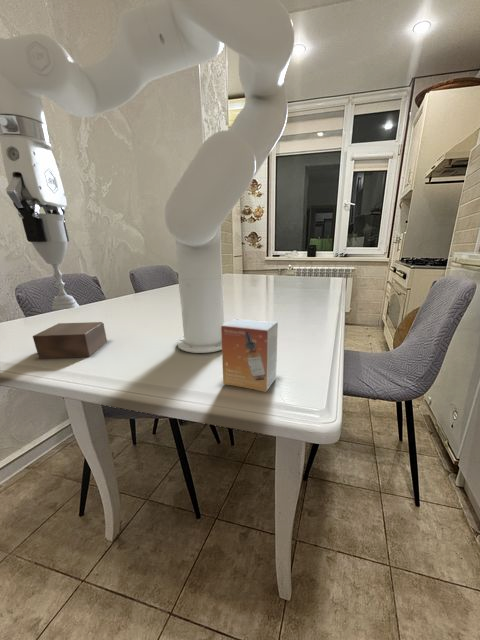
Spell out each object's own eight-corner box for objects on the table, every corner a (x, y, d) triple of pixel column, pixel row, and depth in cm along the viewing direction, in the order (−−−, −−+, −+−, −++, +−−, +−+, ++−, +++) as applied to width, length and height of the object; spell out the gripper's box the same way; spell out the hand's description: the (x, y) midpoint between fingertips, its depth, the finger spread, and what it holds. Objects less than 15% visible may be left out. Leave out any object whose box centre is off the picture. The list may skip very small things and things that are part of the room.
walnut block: (107, 341, 71) (103, 321, 69) (89, 356, 62) (84, 334, 60) (63, 343, 70) (58, 323, 68) (38, 358, 60) (32, 336, 59)
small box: (222, 385, 49) (219, 325, 46) (235, 372, 54) (234, 317, 51) (267, 392, 47) (267, 330, 43) (277, 378, 52) (278, 321, 48)
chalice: (65, 311, 58) (40, 212, 52) (36, 309, 60) (10, 213, 53) (91, 304, 65) (73, 216, 59) (66, 303, 66) (45, 216, 60)
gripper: (14, 117, 44) (45, 241, 50) (71, 150, 60) (88, 242, 66) (-41, 114, 43) (-3, 241, 49) (31, 149, 59) (53, 242, 65)
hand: (49, 241), depth 58 cm, fingers closed on chalice, 7 cm apart
